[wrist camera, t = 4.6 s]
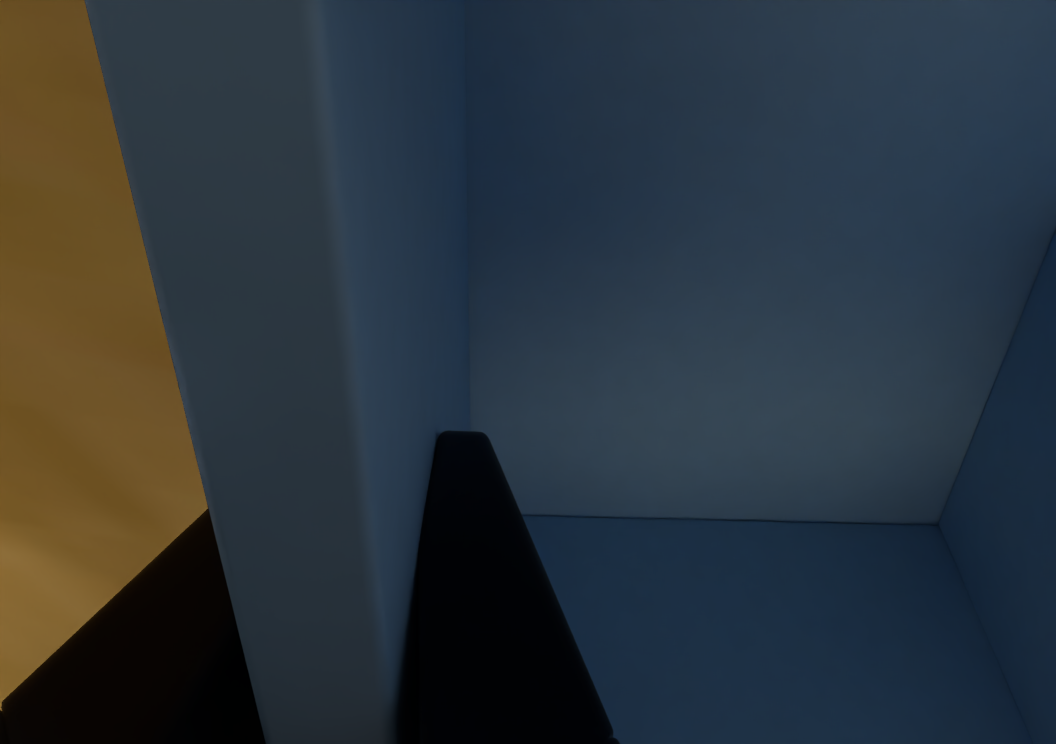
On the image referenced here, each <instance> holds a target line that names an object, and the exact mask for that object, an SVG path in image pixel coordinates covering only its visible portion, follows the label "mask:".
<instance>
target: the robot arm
mask: <svg viewBox="0 0 1056 744" xmlns="http://www.w3.org/2000/svg"><path fill="white" fill-rule="evenodd" d="M418 628H419V738H420V744H620V743H619V741H618V740H617V739H616V738H614V737H613V733H614V732H613V728H612V725H611V723H610V721H609V718H608V716H607V714H606V711H605V709H604V707H603V704H602V702H601V700H600V697H599V695H598V693H597V690H596V688H595V686H594V683H593V681H592V679H591V676H590V674H589V672H588V669H587V667H586V664H585V662H584V660H583V657H582V655H581V653H580V650H579V648H578V646H577V643H576V641H575V639H574V636H573V634H572V632H571V629H570V627H569V625H568V622H567V620H566V618H565V615H564V613H563V610H562V608H561V606H560V603H559V601H558V599H557V596H556V594H555V592H554V589H553V587H552V585H551V582H550V580H549V578H548V575H547V573H546V571H545V568H544V566H543V564H542V561H541V559H540V557H539V554H538V552H537V549H536V547H535V545H534V542H533V540H532V538H531V535H530V533H529V531H528V528H527V526H526V524H525V521H524V519H523V517H522V514H521V512H520V510H519V507H518V505H517V503H516V500H515V498H514V495H513V493H512V491H511V488H510V486H509V484H508V481H507V479H506V477H505V474H504V472H503V470H502V467H501V465H500V463H499V460H498V458H497V456H496V453H495V451H494V449H493V446H492V444H491V442H490V439H489V438H488V436H487V435H486V434H485V433H483V432H476V431H452V430H447V431H444V432H442V433H441V434H440V436H439V437H438V441H437V446H436V451H435V455H434V460H433V465H432V470H431V475H430V480H429V486H428V492H427V497H426V503H425V509H424V515H423V521H422V527H421V534H420V541H419V549H418ZM0 744H266V742H265V738H264V734H263V730H262V726H261V722H260V717H259V713H258V709H257V705H256V701H255V697H254V693H253V689H252V685H251V680H250V676H249V672H248V668H247V664H246V660H245V656H244V652H243V648H242V644H241V639H240V635H239V631H238V627H237V623H236V619H235V615H234V611H233V607H232V603H231V598H230V594H229V590H228V586H227V582H226V578H225V574H224V570H223V566H222V562H221V557H220V553H219V549H218V545H217V541H216V537H215V533H214V529H213V525H212V520H211V516H210V512H209V508H208V509H207V510H206V511H205V512H204V513H203V514H202V515H201V516H200V517H199V518H197V519H196V520H195V521H194V522H193V523H192V524H191V525H190V526H189V527H188V528H187V529H186V530H185V531H184V532H183V533H181V534H180V535H179V536H178V537H177V538H176V539H175V540H174V541H173V542H172V543H171V544H170V545H169V546H168V547H167V548H165V549H164V550H163V551H162V552H161V553H160V554H159V555H158V556H157V557H156V558H155V559H154V560H153V561H152V562H151V563H149V564H148V565H147V566H146V567H145V568H144V569H143V570H142V571H141V572H140V573H139V574H138V575H137V576H136V577H135V578H133V579H132V580H131V581H130V582H129V583H128V584H127V585H126V586H125V587H124V588H123V589H122V590H121V591H120V592H119V593H117V594H116V595H115V596H114V597H113V598H112V599H111V600H110V601H109V602H108V603H107V604H106V605H105V606H104V607H103V608H101V609H100V610H99V611H98V612H97V613H96V614H95V615H94V616H93V617H92V618H91V619H90V620H89V621H88V622H87V623H85V624H84V625H83V626H82V627H81V628H80V629H79V630H78V631H77V632H76V633H75V634H74V635H73V636H72V637H71V638H69V639H68V640H67V641H66V642H65V643H64V644H63V645H62V646H61V647H60V648H59V649H58V650H57V651H56V652H55V653H53V654H52V655H51V656H50V657H49V658H48V659H47V660H46V661H45V662H44V663H43V664H42V665H41V666H40V667H39V668H37V669H36V670H35V671H34V672H33V673H32V674H31V675H30V676H29V677H28V678H27V679H26V680H25V681H24V682H23V683H22V684H20V685H19V686H18V687H17V688H16V689H15V690H14V691H13V692H12V693H11V694H10V695H9V696H8V697H7V698H6V699H4V700H3V702H2V711H1V710H0Z"/></svg>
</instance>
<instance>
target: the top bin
mask: <svg viewBox="0 0 1056 744" xmlns="http://www.w3.org/2000/svg"><path fill="white" fill-rule="evenodd" d="M85 4H86V8H87V12H88V16H89V20H90V24H91V28H92V32H93V36H94V40H95V45H96V49H97V53H98V57H99V61H100V65H101V69H102V73H103V77H104V81H105V86H106V90H107V94H108V98H109V102H110V106H111V110H112V114H113V118H114V122H115V127H116V131H117V135H118V139H119V143H120V147H121V151H122V155H123V159H124V164H125V168H126V172H127V176H128V180H129V184H130V188H131V192H132V196H133V200H134V205H135V209H136V213H137V217H138V221H139V225H140V229H141V233H142V237H143V241H144V246H145V250H146V254H147V258H148V262H149V266H150V270H151V274H152V278H153V283H154V287H155V291H156V295H157V299H158V303H159V307H160V311H161V315H162V319H163V324H164V328H165V332H166V336H167V340H168V344H169V348H170V352H171V356H172V360H173V365H174V369H175V373H176V377H177V381H178V385H179V389H180V393H181V397H182V401H183V406H184V410H185V414H186V418H187V422H188V426H189V430H190V434H191V438H192V443H193V447H194V451H195V455H196V459H197V463H198V467H199V471H200V475H201V479H202V484H203V488H204V492H205V496H206V500H207V504H208V508H209V512H210V516H211V520H212V525H213V529H214V533H215V537H216V541H217V545H218V549H219V553H220V557H221V562H222V566H223V570H224V574H225V578H226V582H227V586H228V590H229V594H230V598H231V603H232V607H233V611H234V615H235V619H236V623H237V627H238V631H239V635H240V639H241V644H242V648H243V652H244V656H245V660H246V664H247V668H248V672H249V676H250V680H251V685H252V689H253V693H254V697H255V701H256V705H257V709H258V713H259V717H260V722H261V726H262V730H263V734H264V738H265V742H266V744H420V738H419V628H418V549H419V541H420V534H421V527H422V521H423V515H424V509H425V503H426V497H427V492H428V486H429V480H430V475H431V470H432V465H433V460H434V455H435V451H436V446H437V441H438V437H439V436H440V434H441V433H442V432H444V431H447V430H452V431H476V432H483V433H485V434H486V435H487V436H488V438H489V439H490V442H491V444H492V446H493V449H494V451H495V453H496V456H497V458H498V460H499V463H500V465H501V467H502V470H503V472H504V474H505V477H506V479H507V481H508V484H509V486H510V488H511V491H512V493H513V495H514V498H515V500H516V503H517V505H518V507H519V510H520V512H521V514H522V517H523V519H524V521H525V524H526V526H527V528H528V531H529V533H530V535H531V538H532V540H533V542H534V545H535V547H536V549H537V552H538V554H539V557H540V559H541V561H542V564H543V566H544V568H545V571H546V573H547V575H548V578H549V580H550V582H551V585H552V587H553V589H554V592H555V594H556V596H557V599H558V601H559V603H560V606H561V608H562V610H563V613H564V615H565V618H566V620H567V622H568V625H569V627H570V629H571V632H572V634H573V636H574V639H575V641H576V643H577V646H578V648H579V650H580V653H581V655H582V657H583V660H584V662H585V664H586V667H587V669H588V672H589V674H590V676H591V679H592V681H593V683H594V686H595V688H596V690H597V693H598V695H599V697H600V700H601V702H602V704H603V707H604V709H605V711H606V714H607V716H608V718H609V721H610V723H611V725H612V728H613V732H614V733H613V737H614V738H616V739H617V740H618V741H619V743H620V744H1056V0H85Z"/></svg>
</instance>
